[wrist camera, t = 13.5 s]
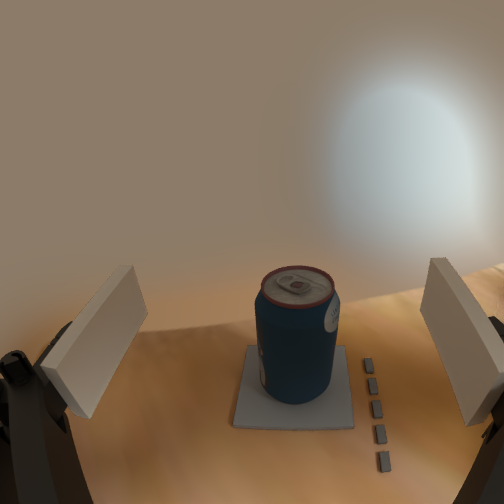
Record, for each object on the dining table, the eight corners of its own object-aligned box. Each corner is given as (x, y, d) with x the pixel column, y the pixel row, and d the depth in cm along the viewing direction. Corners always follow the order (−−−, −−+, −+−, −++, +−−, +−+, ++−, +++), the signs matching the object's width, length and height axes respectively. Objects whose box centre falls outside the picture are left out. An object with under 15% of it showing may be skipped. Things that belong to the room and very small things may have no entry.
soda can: (343, 381, 30) (359, 281, 24) (295, 422, 26) (300, 323, 21) (294, 350, 35) (295, 253, 29) (246, 383, 31) (234, 284, 25)
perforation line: (370, 359, 33) (371, 357, 32) (390, 471, 20) (391, 470, 20) (364, 360, 33) (364, 358, 33) (381, 472, 20) (382, 471, 20)
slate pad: (343, 348, 35) (344, 345, 34) (353, 428, 25) (354, 425, 25) (248, 348, 36) (247, 345, 36) (233, 427, 26) (232, 424, 26)
